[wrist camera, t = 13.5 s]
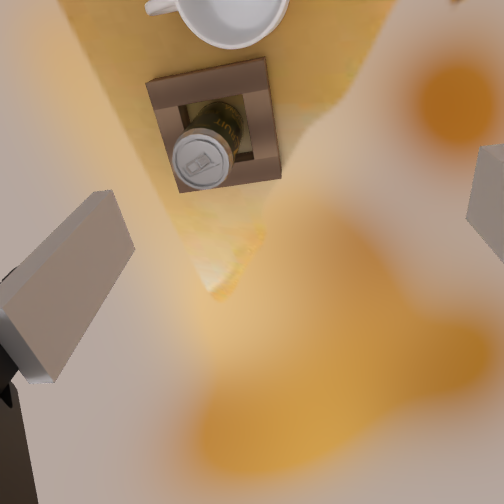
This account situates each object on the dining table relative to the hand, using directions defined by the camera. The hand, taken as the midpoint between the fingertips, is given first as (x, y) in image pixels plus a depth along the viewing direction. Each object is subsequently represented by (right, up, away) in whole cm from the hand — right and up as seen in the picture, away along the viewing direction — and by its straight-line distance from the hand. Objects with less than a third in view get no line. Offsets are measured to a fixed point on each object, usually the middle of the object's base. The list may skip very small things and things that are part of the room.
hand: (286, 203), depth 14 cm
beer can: (-5, +12, +28) cm, 31 cm away
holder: (-5, +12, +28) cm, 31 cm away
